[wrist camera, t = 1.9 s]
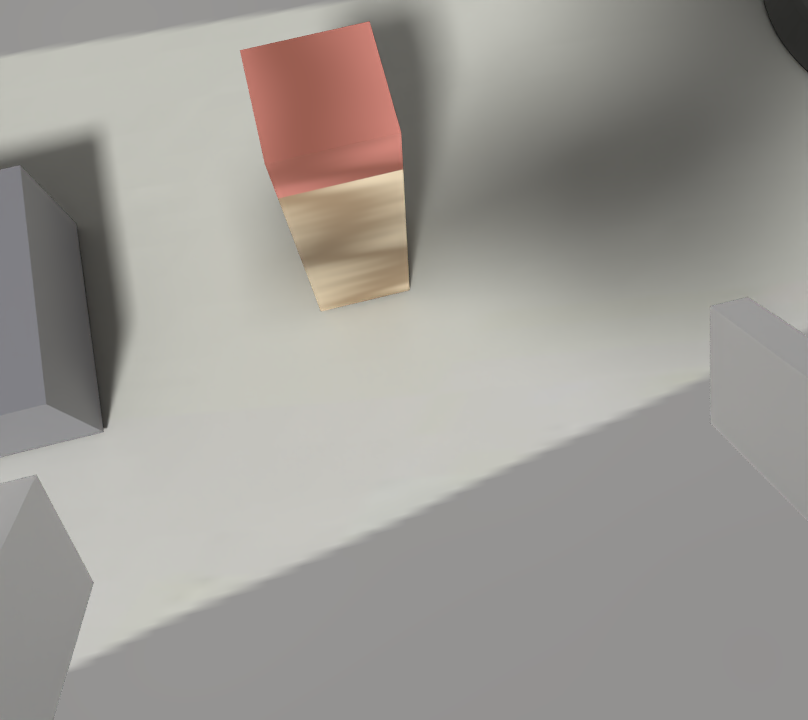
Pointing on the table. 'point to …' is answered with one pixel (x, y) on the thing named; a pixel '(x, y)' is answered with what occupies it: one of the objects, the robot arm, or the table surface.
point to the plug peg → (334, 159)
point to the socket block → (42, 323)
